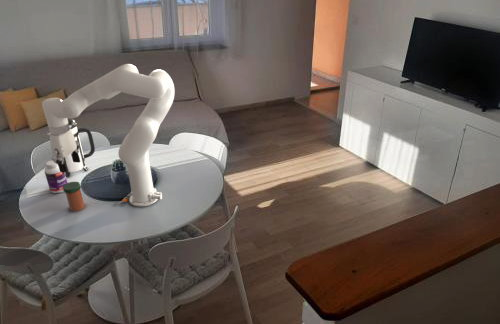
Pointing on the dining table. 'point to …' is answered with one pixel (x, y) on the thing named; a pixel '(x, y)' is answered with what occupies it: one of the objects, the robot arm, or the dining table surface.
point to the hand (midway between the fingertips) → (70, 166)
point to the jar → (75, 200)
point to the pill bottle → (55, 177)
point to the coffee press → (68, 159)
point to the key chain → (126, 197)
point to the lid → (71, 187)
